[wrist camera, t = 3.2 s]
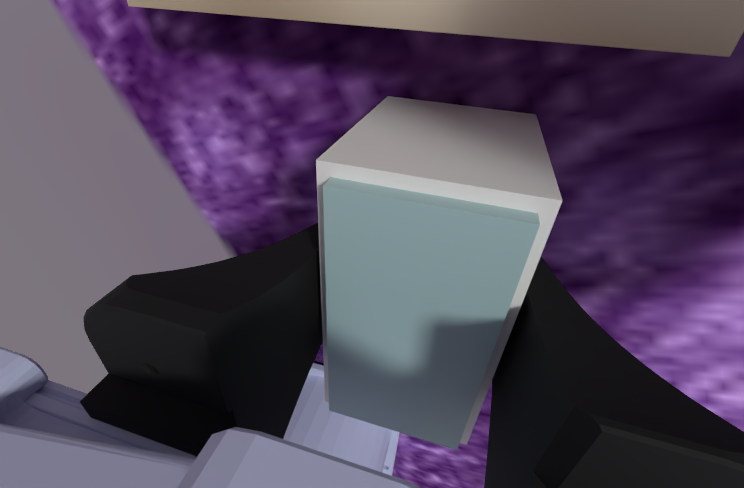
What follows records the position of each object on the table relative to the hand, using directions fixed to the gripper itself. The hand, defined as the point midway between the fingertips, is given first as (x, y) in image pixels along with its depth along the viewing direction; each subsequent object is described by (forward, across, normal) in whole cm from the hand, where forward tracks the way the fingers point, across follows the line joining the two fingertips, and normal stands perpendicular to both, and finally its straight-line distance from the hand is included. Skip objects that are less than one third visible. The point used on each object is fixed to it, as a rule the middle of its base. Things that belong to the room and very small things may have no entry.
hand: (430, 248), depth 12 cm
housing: (+2, 0, 0) cm, 2 cm away
